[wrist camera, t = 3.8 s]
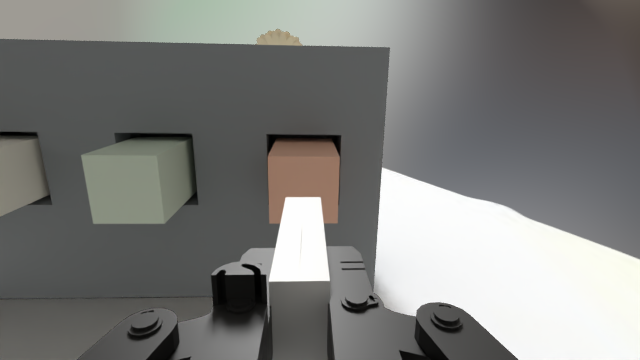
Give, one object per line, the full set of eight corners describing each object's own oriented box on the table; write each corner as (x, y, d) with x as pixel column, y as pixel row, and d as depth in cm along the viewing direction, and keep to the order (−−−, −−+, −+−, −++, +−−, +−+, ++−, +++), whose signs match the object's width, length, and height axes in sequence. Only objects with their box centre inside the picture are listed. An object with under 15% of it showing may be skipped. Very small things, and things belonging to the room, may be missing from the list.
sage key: (93, 223, 22) (80, 155, 20) (143, 189, 28) (136, 136, 27) (164, 223, 22) (156, 155, 21) (197, 190, 29) (193, 137, 27)
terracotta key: (269, 223, 22) (267, 156, 21) (277, 190, 29) (276, 138, 28) (337, 223, 22) (339, 157, 21) (329, 190, 29) (331, 138, 28)
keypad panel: (-39, 299, 28) (-122, 36, 23) (34, 252, 36) (-14, 47, 30) (373, 294, 30) (389, 47, 24) (359, 250, 37) (369, 55, 32)
